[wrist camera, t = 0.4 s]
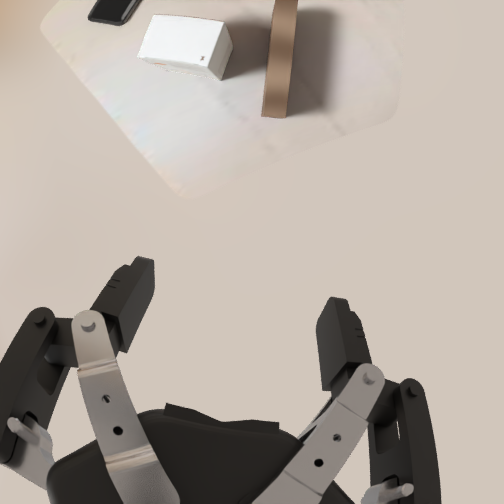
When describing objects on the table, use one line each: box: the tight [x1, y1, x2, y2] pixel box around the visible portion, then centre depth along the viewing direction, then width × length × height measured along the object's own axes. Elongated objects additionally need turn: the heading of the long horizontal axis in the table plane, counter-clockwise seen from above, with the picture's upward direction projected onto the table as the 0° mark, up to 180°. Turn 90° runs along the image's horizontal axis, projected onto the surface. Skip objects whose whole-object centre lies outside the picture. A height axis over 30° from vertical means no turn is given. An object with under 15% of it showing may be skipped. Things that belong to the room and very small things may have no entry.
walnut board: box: [261, 0, 298, 118], centre depth 26 cm, size 16×2×7 cm, turn 174°
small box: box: [137, 14, 233, 81], centre depth 24 cm, size 8×6×10 cm
